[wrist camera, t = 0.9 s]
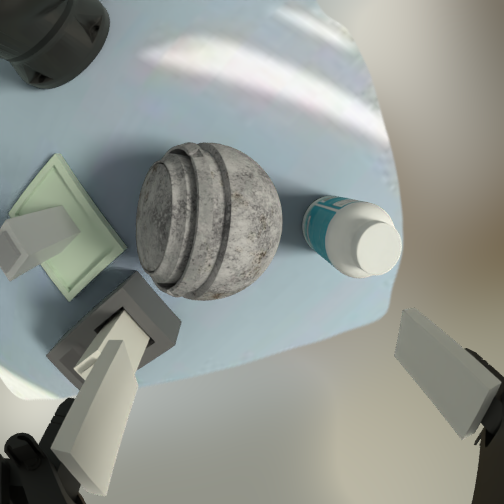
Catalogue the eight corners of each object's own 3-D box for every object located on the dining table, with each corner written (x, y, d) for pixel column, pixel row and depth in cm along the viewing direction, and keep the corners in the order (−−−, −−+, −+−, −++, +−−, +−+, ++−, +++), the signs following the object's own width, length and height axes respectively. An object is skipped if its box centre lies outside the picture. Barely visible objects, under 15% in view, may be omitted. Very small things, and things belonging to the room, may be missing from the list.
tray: (14, 212, 32) (8, 213, 31) (60, 154, 31) (55, 153, 30) (73, 297, 36) (69, 302, 35) (127, 247, 35) (123, 250, 34)
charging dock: (63, 335, 37) (17, 391, 23) (136, 270, 36) (92, 322, 22) (102, 376, 40) (70, 440, 26) (181, 321, 38) (162, 392, 24)
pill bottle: (326, 264, 38) (371, 307, 25) (288, 224, 36) (322, 251, 23) (365, 224, 37) (425, 249, 24) (330, 182, 35) (384, 188, 22)
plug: (43, 226, 33) (-15, 249, 21) (62, 205, 32) (2, 220, 20) (61, 252, 34) (6, 283, 22) (80, 231, 33) (25, 257, 21)
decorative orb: (162, 141, 32) (119, 120, 18) (281, 163, 34) (319, 155, 20) (143, 260, 36) (98, 311, 21) (255, 280, 38) (273, 343, 23)
